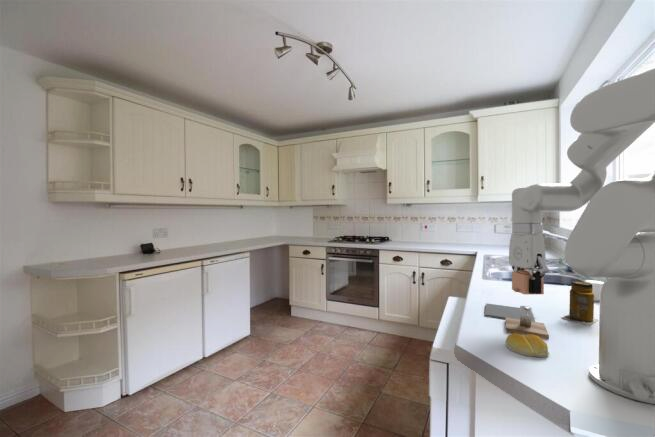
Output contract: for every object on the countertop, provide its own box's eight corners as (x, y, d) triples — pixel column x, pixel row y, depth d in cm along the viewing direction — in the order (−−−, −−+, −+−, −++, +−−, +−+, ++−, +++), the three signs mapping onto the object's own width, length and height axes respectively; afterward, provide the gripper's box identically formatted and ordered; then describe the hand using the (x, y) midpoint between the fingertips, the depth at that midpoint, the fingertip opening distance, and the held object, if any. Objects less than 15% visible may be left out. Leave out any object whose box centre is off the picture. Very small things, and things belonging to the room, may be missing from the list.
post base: (548, 339, 81) (548, 335, 81) (506, 332, 86) (506, 328, 86) (543, 327, 90) (544, 323, 90) (505, 321, 95) (505, 317, 95)
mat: (535, 323, 93) (535, 321, 93) (484, 316, 100) (484, 314, 100) (530, 311, 105) (531, 309, 105) (486, 304, 112) (486, 303, 112)
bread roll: (501, 341, 81) (502, 327, 81) (540, 346, 78) (540, 331, 78) (511, 355, 73) (511, 339, 73) (554, 361, 70) (554, 344, 70)
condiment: (598, 320, 96) (599, 283, 96) (589, 325, 91) (590, 287, 91) (570, 313, 102) (571, 279, 102) (560, 318, 97) (561, 282, 97)
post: (531, 328, 86) (531, 309, 86) (520, 326, 88) (520, 307, 88) (530, 324, 89) (531, 306, 89) (519, 323, 90) (519, 305, 90)
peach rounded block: (521, 294, 85) (521, 273, 85) (509, 289, 90) (509, 269, 90) (546, 294, 85) (546, 273, 85) (532, 289, 90) (533, 269, 90)
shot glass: (580, 297, 122) (580, 280, 121) (589, 295, 124) (589, 279, 124) (601, 302, 115) (601, 284, 115) (610, 300, 118) (610, 282, 118)
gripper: (497, 228, 96) (498, 284, 96) (534, 230, 79) (535, 298, 79) (520, 228, 96) (521, 284, 96) (562, 230, 79) (563, 298, 79)
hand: (527, 290), depth 87 cm, fingers closed on peach rounded block, 5 cm apart
